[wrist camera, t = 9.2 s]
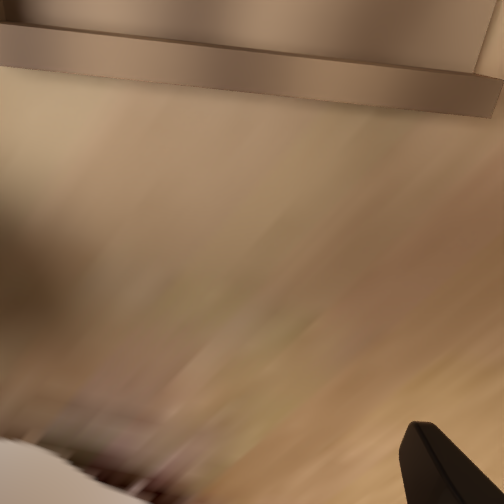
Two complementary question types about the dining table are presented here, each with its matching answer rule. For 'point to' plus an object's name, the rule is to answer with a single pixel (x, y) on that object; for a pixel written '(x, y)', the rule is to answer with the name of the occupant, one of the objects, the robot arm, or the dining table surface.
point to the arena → (267, 47)
